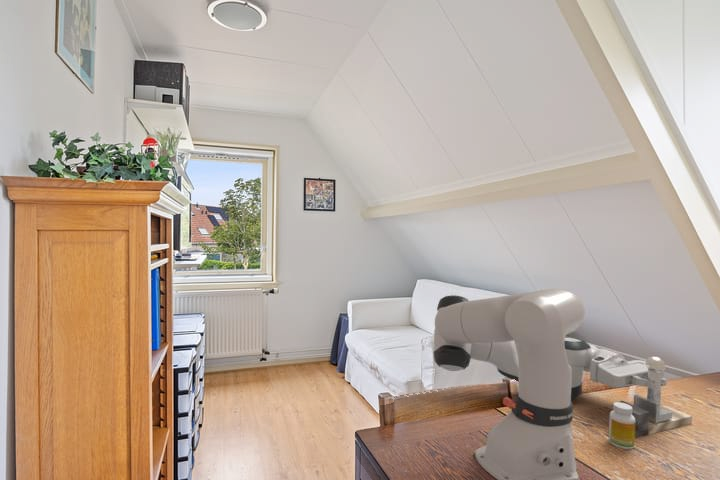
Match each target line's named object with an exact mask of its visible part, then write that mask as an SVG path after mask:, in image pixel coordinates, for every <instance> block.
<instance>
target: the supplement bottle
mask: <svg viewBox="0 0 720 480" xmlns="http://www.w3.org/2000/svg"><path fill="white" fill-rule="evenodd" d="M613 403H614V404H613ZM613 403H612V410H611V411H610V412H609V421H608V442H609V443H610V444H612V445H613V446H615V447H617V448H619V449H623V450H632V449H634V448H635V442H636V441H635V440H636V439H635V437H636V436H635V418H634V416H633V415H631V414H632V407H631V406H630V405H628V404H625V403H621V402H620V401H616V402H613ZM613 410H614V411H613Z"/></svg>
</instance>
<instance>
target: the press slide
mask: <svg viewBox="0 0 720 480" xmlns="http://www.w3.org/2000/svg"><path fill="white" fill-rule="evenodd" d="M645 361H646V362H645V364H646V367H647V369H648V380H652V381H655V383H656V385H655V386H656V387H655V388H651V389H650V388H648V387H646V388H647V389H646V397H644V396H641V395H638V394H634V395H633V404H632V405H634V406H636V407H638V408H641V409H643V410H645V411H648V412H649V420H650V421H652V422H655V423H658V422H662V421H666V420H670V419H672V412H670V411H667V410H665V409H663V408H660V406H661V400H662V399H661V398H662V397H661V396H662V395H661V394H662V386H661V380H662V372H663V371H664V372H665V369H666V362H665V361H664V360H663V359H662V358H661V357H658V356H653V355H652V356H649V357H647V359H646V360H645Z"/></svg>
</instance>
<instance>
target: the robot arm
mask: <svg viewBox="0 0 720 480" xmlns="http://www.w3.org/2000/svg"><path fill="white" fill-rule="evenodd" d="M436 310H437V312H436V315H435V318H434V331H433V341H434V342H433V343H434V344H433V345H434V346H433V348H434V351H433V359H434V363H435V364H436V365H437V366H438V367H439V368H442V369H444V370H446V371H450V372H457V371H458V372H460V371H462V370H465V369H467V368H468V367H469V365H470V362H471V359H472V360H475V361H478V362H479V361H480V362H484V363H489V364H492V365H493V366H494V367H495V368H496V370H497V371H498V372H497V373H500V375H502V376H503V377H505V378H508V379H510V380H512V379H515V380H516V381H515V380H514V381H515V382H518V387H517V389H518V390H517V392H516V394H515V397H514V399H511V398H510V397H508V396H505V397H504V398H503V399H502V404H503V405H504V406H505V407H508V409H510V411H509V412H508V414H506V415H505V416H504V417H503V418H502V419H501V420H500V421H499V422H498V423H496V424H495V425H494V426H493V427H492V428H491V429H490V430H489V431H488V434H487V437H486V444H485V445H484V446H481V447H479V448H477V449H475V455H474V456H475V459H476V461H477V462H478V463H479V465H480V466H481V467H482V468H483V469H484V470H485V471H486V472H487V473H489V474H490V476H492V477H494V478H495V479H496V480H580V477H579V474H578V472H577V468H578V465H577V462H576V457H575V456H576V453H575V442H574V436H573V433H572V426H571V423H572V422H573V419H574V418H573V415H574V410H573V409H574V404H573V402H572V400H575V399H576V398H578V397H579V396H581V395H582V392H583V377H584V372H586V373H589V375H590V376H589V378H590V381H592V382H594V383H599V384H602V385H603V386H606V387H609V388H613V389H614V388H615V389H621V388H626V387H632V386H638V387H644V388H645V387H646V388H647V387H648V388H650V389H651V388H655V387H656V386H655V385H656V383H655V381H652V380H648V369H647V367H646V364H645V362H646V360H640V359H634V360H633V359H632V360H629V361H627V360H626V359H625V356H624V355H622V354H621V353H618V352H615V351H612V350H609V349H605V348H599V347H597V346H596V345H593V344H591V343H588V342H586V341H585V340H583V339H579V338H575V337H572V336H571V337H570V336H568V335H569V334H571V333H573V332H575V331H576V330H577V329H578V328H579V327H580V325H581V324H582V322H583V320H584V318H585V313H586V310H585V306H584V303H583V301H582V300H581V298H580V297H579V296H578V295H576V294H575V293H573V292H571V291H569V290H565V289H562V288H561V289H560V288H549V289H542V290H535V291H528V292H523V293H522V292H521V293H516V294H510V295H509V294H508V295H502V296H497V297H490V298H482V299H474V300H472V299H471V300H469V299H468V298H466V297H464V296H460V295H454V294H453V295H452V294H451V295H445V296H444V297H442V298H440V299H439V301H438V304H437V308H436ZM664 375H665V370H664V371H663V372H662V380H661V387H663V386H667V382H668V380H667V379H666V378H664Z"/></svg>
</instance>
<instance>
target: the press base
mask: <svg viewBox="0 0 720 480" xmlns="http://www.w3.org/2000/svg"><path fill="white" fill-rule="evenodd" d="M619 402H621V403H625V404H628V405H630V406H631V407H632V414H631V415H633V416H634V418H635V437H636V438H642V437H645V436H649V435H653V434H657V433H662V432H664V431H667V430H671V429H676V428H679V427H682V426H686V425H690V424H692V422H693V421H692V417H693V416H692V415H690V414H687V413H685V412H682V411H679V410H677V409H675V408H673V407H670V406H667V405H660V408H663V409H665V410H667V411H670V412H672V419H670V420H666V421H662V422H658V423H655V422H652V421H650V420H649V412H648V411H645V410H643V409H641V408H638V407H636V406H634V405H633V404H631V403H629V402H627V401H624V400H622V401H619ZM614 403H615V402H613V403H612V405H613V404H614ZM612 411H614V410H613V409H612Z"/></svg>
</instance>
